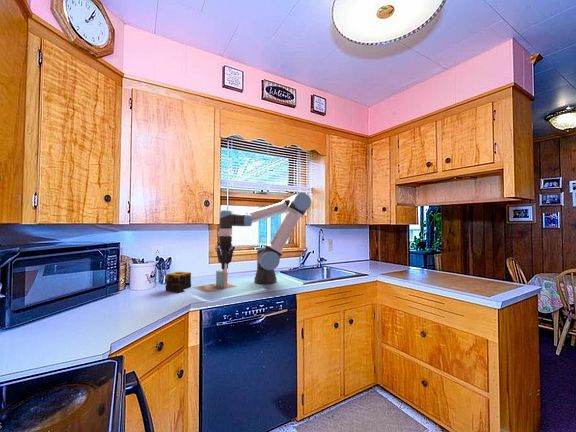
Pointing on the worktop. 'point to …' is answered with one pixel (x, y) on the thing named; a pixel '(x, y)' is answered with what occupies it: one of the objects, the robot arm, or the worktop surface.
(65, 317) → the worktop surface
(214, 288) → the board
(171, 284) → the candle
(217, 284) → the tile
